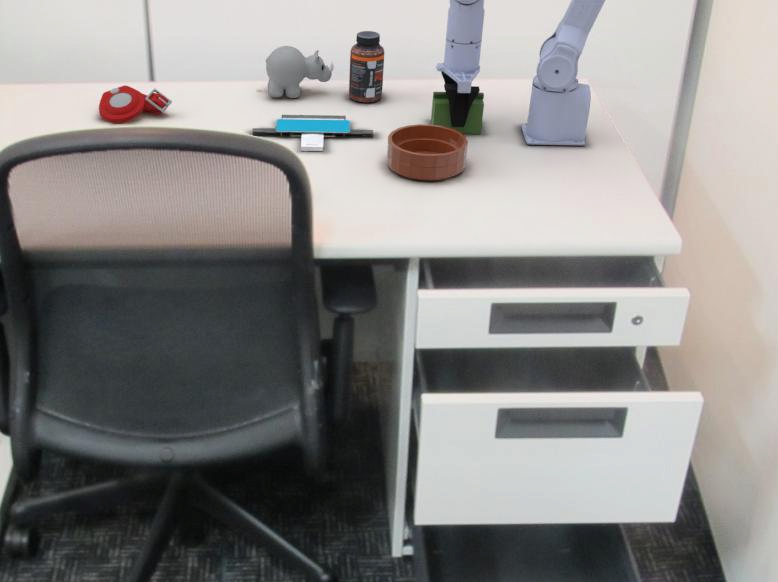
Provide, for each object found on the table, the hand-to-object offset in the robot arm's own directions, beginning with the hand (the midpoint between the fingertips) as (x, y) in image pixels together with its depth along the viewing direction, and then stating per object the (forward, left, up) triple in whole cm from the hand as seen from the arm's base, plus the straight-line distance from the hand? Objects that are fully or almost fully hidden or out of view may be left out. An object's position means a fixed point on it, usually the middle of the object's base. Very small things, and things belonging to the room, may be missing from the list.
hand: (456, 119), depth 187 cm
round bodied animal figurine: (+27, -14, -2) cm, 30 cm away
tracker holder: (+55, -3, -2) cm, 55 cm away
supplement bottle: (+15, -13, -2) cm, 20 cm away
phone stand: (+24, +5, -2) cm, 25 cm away
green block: (0, 0, -1) cm, 1 cm away
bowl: (+6, +16, -1) cm, 17 cm away
